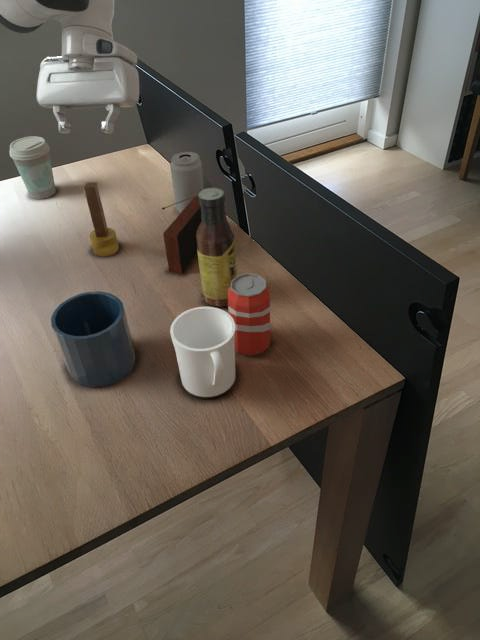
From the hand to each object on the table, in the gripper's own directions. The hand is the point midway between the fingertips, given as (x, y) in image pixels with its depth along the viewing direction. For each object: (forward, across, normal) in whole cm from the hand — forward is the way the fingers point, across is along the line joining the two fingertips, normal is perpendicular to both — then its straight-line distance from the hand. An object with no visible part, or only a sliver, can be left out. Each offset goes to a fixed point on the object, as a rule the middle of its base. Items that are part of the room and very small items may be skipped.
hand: (85, 132), depth 98 cm
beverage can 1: (+12, +11, +22) cm, 27 cm away
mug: (+39, +34, -14) cm, 54 cm away
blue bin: (+38, +16, -16) cm, 44 cm away
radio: (+21, +18, +10) cm, 29 cm away
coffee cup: (+10, -25, +18) cm, 32 cm away
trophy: (+21, +1, +6) cm, 22 cm away
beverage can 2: (+34, +37, -6) cm, 50 cm away
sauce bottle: (+28, +28, +2) cm, 39 cm away
